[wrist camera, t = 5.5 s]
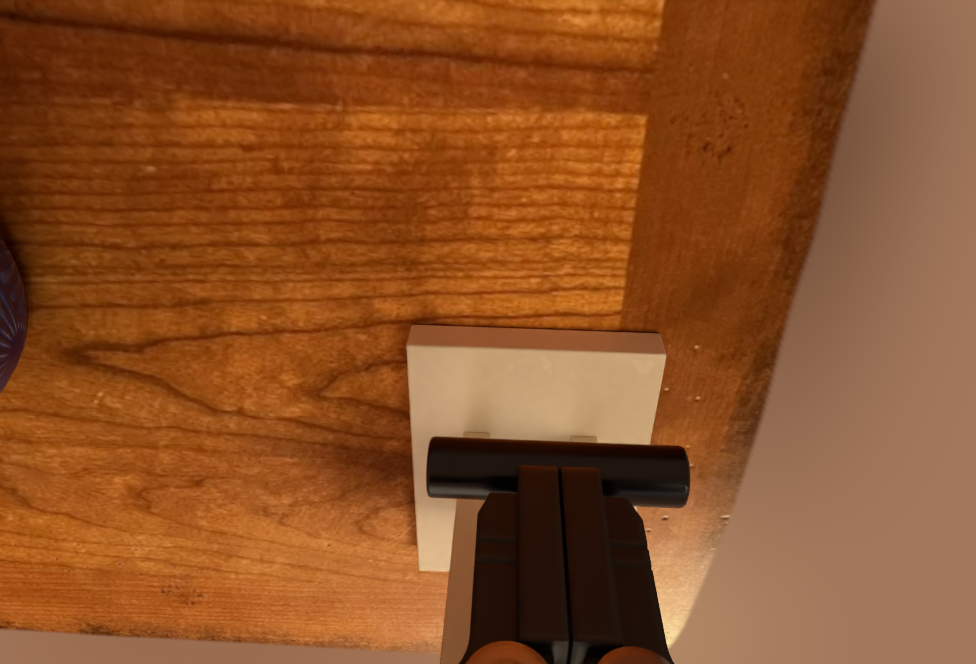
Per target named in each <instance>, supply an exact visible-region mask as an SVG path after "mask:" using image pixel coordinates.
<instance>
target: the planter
mask: <svg viewBox="0 0 976 664" xmlns="http://www.w3.org/2000/svg"><path fill="white" fill-rule="evenodd" d="M27 328H28V309H27V300H26V295H25V291H24V286H23V282H22V279H21V276H20V273H19V270H18V268H17V266H16V263H15V261H14V259H13V257H12V255H11V253H10V251H9V249H8V248H7V246H6V244H5V242H4V241H3V239H2V238H1V236H0V393H1V391H2V390H3V389H4V387H5V386H6V384H7V382H8V380H9V379H10V377H11V375H12V373H13V371H14V370H15V368H16V366H17V364H18V361H19V359H20V357H21V354H22V351H23V348H24V344H25V339H26V333H27Z"/></svg>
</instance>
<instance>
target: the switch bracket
mask: <svg viewBox="0 0 976 664" xmlns="http://www.w3.org/2000/svg"><path fill="white" fill-rule="evenodd" d="M406 354H407V371H408V389H409V407H410V425H411V443H412V461H413V479H414V496H415V514H416V532H417V550H418V568H419V570H420V571H438V572H449V579H448V589H447V599H446V608H445V618H444V628H443V638H442V647H441V657H440V664H459V662H460V661H461V660H462V658H463V656H464V654H465V652H466V650H467V646H468V643H469V636H470V621H471V606H472V591H473V575H474V561H475V544H476V529H477V514H478V512H479V510H480V508H481V507H482V505H483V503H484V502H485V500H470V499H446V498H431V497H429V496H428V494H427V490H426V466H427V454H428V446H429V442H430V440H431V438H432V437H434V436H444V437H470V438H495V439H520V440H545V441H571V442H596V443H621V444H646V445H650V440H651V435H652V430H653V424H654V419H655V414H656V409H657V404H658V398H659V393H660V388H661V383H662V377H663V372H664V367H665V362H666V356H667V355H666V352H665V348H664V345H663V342H662V338H661V335H660V334H659V333H633V332H605V331H577V330H550V329H522V328H494V327H466V326H438V325H411V328H410V332H409V336H408V340H407V344H406ZM633 507H634V508H635V510H636V511H637V508H638V507H637V506H633Z"/></svg>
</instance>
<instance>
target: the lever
mask: <svg viewBox="0 0 976 664" xmlns="http://www.w3.org/2000/svg"><path fill="white" fill-rule="evenodd" d="M519 465H530V466H555V467H557V469H558V474H559V468H560V467H585V468H599V470H600V475H601V482H602V489H603V497H622V498H628V500H629V501H630V503H631V504H632V505H633V506H637V507H661V508H682V507H684V506H685V505H686V503H687V500H688V496H689V491H690V466H689V461H688V457H687V454H686V451H685V449H684V448H683V447H681V446H671V445H646V444H621V443H596V442H571V441H545V440H520V439H495V438H470V437H444V436H434V437H432V438H431V440H430V442H429V446H428V454H427V466H426V490H427V494H428V496H429V497H431V498H446V499H470V500H486V498H487V497H488V495H489V493H490V492H495V493H517V483H518V468H519Z"/></svg>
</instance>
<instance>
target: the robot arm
mask: <svg viewBox="0 0 976 664" xmlns="http://www.w3.org/2000/svg"><path fill="white" fill-rule="evenodd" d="M459 664H674V662H673V661H672V659H671V656H670V654H669V652H668V648H667V644H666V639H665V634H664V629H663V623H662V618H661V613H660V608H659V603H658V597H657V592H656V587H655V582H654V576H653V571H652V570H651V561H650V556H649V550H648V549H647V540H646V535H645V529H644V524H643V520H642V518H641V517H640V515H639V514H638V513H637V511H636V510H635V508H634V507H633V505H632V504H631V503H630V501H629V500H628V498H622V497H603V489H602V482H601V475H600V470H599V468H585V467H560V468H559V474H558V469H557V467H555V466H530V465H519V468H518V483H517V493H495V492H490V493H489V495H488V497H487V498H486V500H485V502H484V503H483V505H482V507H481V508H480V510H479V512H478V514H477V529H476V544H475V561H474V575H473V591H472V606H471V621H470V636H469V643H468V646H467V650H466V652H465V654H464V656H463V658H462V660H461V661H460V662H459Z"/></svg>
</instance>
